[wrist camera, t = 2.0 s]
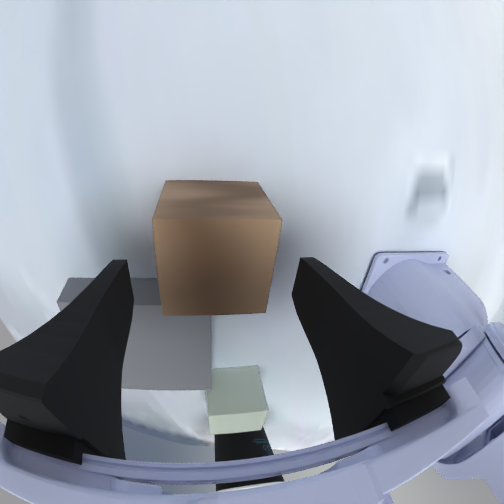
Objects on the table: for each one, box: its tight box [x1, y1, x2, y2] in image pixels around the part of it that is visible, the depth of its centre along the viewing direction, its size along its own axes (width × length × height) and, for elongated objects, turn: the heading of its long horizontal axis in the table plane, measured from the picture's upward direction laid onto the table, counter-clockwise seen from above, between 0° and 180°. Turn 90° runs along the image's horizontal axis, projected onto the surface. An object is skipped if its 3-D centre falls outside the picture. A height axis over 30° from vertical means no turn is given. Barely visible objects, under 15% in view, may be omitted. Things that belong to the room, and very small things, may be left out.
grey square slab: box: [57, 278, 212, 390], centre depth 18 cm, size 10×10×3 cm
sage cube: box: [205, 365, 269, 435], centre depth 23 cm, size 5×5×5 cm
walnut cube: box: [152, 180, 282, 316], centre depth 14 cm, size 5×5×5 cm
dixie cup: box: [214, 426, 285, 493], centre depth 25 cm, size 8×8×11 cm
